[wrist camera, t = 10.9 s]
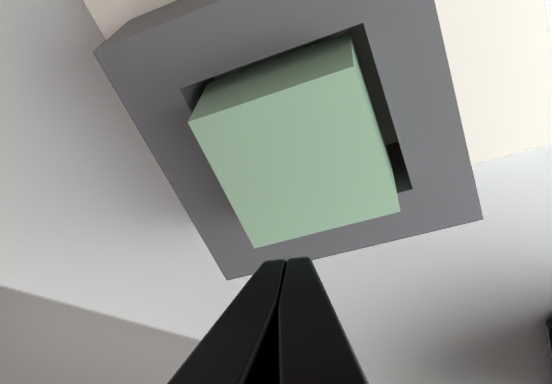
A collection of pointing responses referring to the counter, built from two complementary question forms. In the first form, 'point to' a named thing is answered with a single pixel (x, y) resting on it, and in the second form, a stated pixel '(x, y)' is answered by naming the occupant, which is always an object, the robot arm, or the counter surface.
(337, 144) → the button
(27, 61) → the counter surface
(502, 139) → the picture board
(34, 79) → the counter surface
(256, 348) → the robot arm
